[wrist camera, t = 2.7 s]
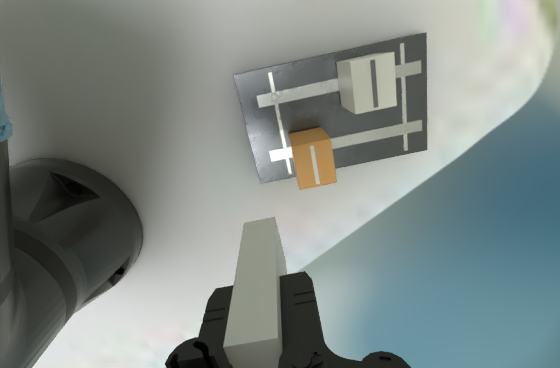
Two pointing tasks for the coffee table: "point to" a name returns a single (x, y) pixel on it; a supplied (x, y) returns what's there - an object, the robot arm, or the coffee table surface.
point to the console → (334, 109)
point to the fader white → (367, 82)
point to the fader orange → (312, 157)
